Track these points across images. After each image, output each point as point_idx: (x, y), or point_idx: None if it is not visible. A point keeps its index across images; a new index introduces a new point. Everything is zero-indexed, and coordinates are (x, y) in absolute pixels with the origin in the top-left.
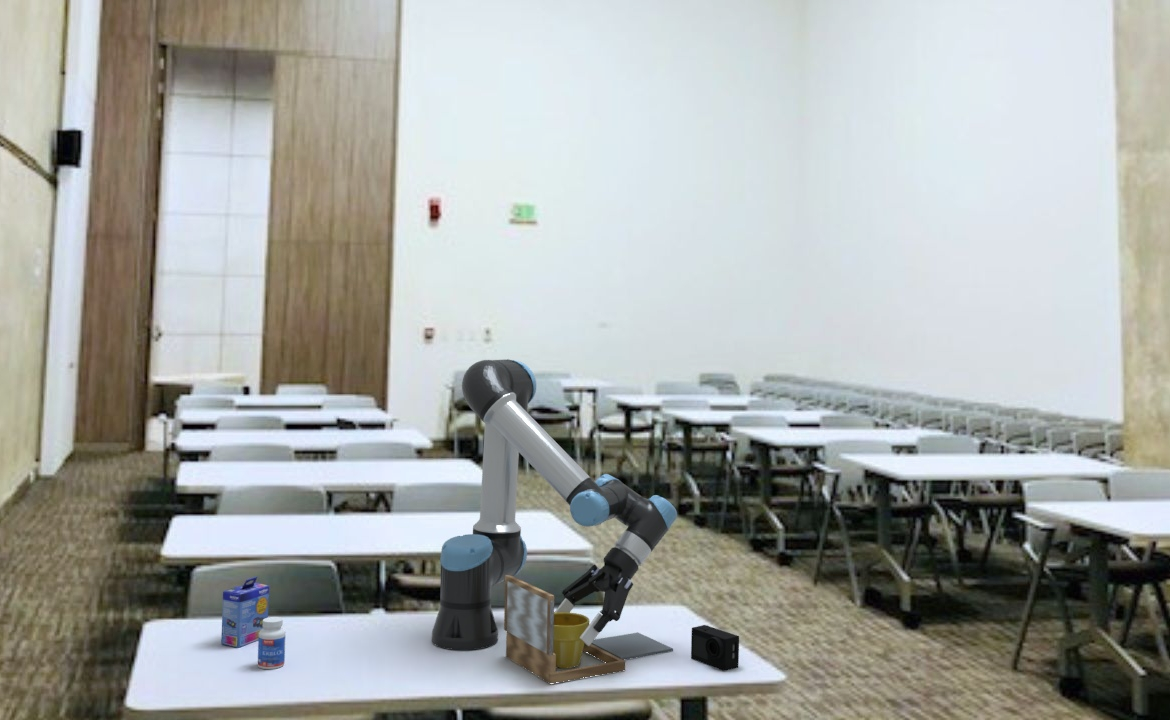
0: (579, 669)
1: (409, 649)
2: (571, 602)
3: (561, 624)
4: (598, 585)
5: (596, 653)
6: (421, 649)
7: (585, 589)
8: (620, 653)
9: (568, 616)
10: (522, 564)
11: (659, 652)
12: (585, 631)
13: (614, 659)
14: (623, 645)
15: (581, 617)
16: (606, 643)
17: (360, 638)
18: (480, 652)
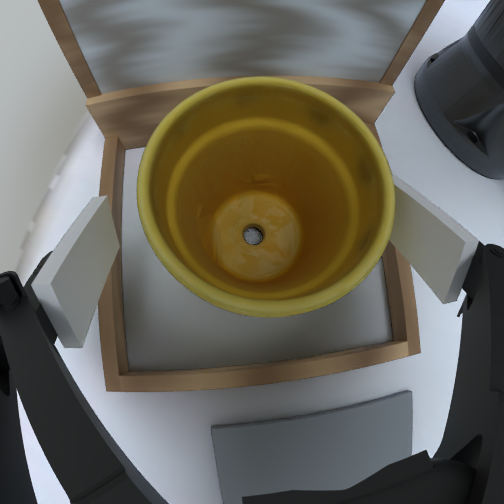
0: None
1: (423, 36)
2: (466, 290)
3: (358, 223)
4: (367, 487)
5: (266, 364)
6: (423, 45)
7: (478, 364)
8: (254, 445)
9: (367, 244)
10: None
11: None
12: (88, 212)
13: (146, 375)
14: (326, 480)
15: (307, 294)
16: (366, 439)
17: (465, 29)
18: (402, 101)
